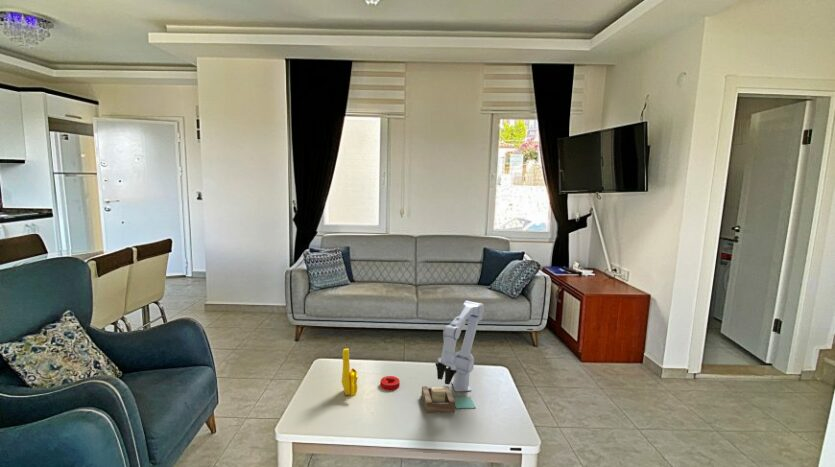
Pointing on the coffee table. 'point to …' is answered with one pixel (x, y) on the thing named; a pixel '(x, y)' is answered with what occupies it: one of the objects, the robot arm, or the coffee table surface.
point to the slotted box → (438, 406)
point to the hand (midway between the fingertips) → (443, 381)
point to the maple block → (438, 394)
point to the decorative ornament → (390, 383)
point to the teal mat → (464, 403)
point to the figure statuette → (348, 375)
